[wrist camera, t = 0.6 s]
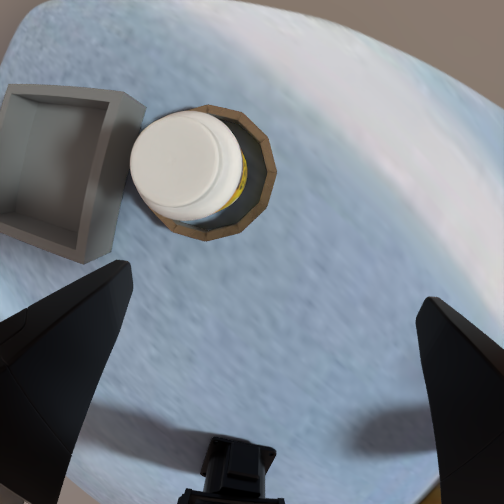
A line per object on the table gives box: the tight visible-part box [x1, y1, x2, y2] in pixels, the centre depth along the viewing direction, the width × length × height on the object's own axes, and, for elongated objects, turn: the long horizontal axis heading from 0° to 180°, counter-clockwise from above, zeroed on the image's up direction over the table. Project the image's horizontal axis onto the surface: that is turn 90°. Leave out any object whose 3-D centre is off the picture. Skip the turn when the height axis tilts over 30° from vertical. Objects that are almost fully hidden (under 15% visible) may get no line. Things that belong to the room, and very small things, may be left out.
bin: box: [0, 84, 147, 264], centre depth 21 cm, size 12×12×4 cm
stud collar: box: [148, 105, 277, 241], centre depth 22 cm, size 9×9×2 cm
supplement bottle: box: [130, 111, 247, 221], centre depth 18 cm, size 6×6×10 cm
